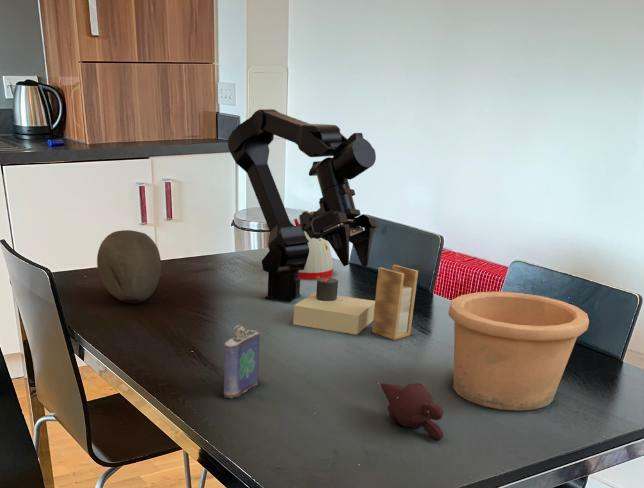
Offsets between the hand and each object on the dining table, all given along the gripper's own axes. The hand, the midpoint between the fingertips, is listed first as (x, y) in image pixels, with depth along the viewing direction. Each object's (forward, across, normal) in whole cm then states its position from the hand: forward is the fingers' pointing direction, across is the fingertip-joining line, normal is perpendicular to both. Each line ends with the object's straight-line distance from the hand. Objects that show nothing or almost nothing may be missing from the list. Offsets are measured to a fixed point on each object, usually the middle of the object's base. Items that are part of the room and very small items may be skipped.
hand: (355, 265), depth 159 cm
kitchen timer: (-9, -34, -28) cm, 45 cm away
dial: (+4, -2, -9) cm, 10 cm away
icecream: (+32, +39, +18) cm, 54 cm away
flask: (+19, +42, -8) cm, 47 cm away
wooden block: (+9, -1, -8) cm, 12 cm away
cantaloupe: (-8, +13, -48) cm, 51 cm away
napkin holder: (+15, -1, +3) cm, 16 cm away
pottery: (+32, +17, +27) cm, 45 cm away
